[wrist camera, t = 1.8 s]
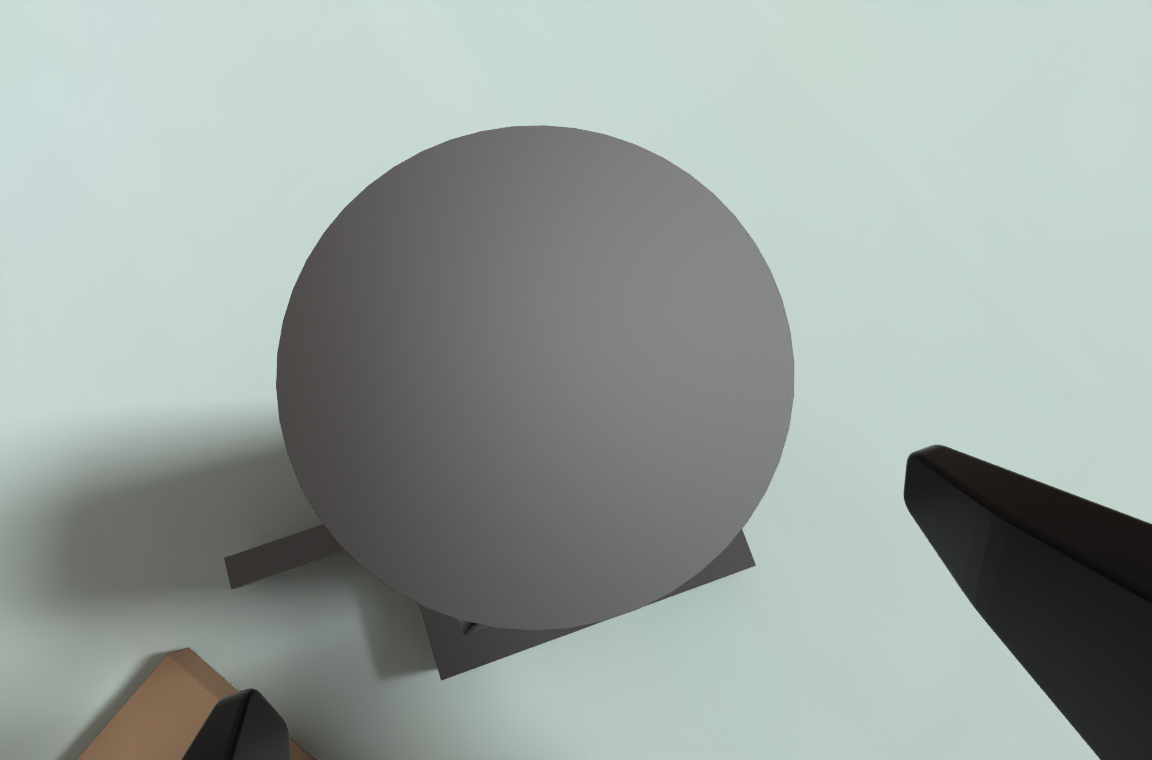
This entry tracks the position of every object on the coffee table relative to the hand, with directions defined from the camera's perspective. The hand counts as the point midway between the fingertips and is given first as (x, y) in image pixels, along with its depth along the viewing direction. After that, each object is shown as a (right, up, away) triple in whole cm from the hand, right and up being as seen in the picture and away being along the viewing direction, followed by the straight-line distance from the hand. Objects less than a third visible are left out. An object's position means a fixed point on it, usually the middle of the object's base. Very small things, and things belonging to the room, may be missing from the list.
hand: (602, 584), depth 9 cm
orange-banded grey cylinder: (-1, 0, +10) cm, 10 cm away
